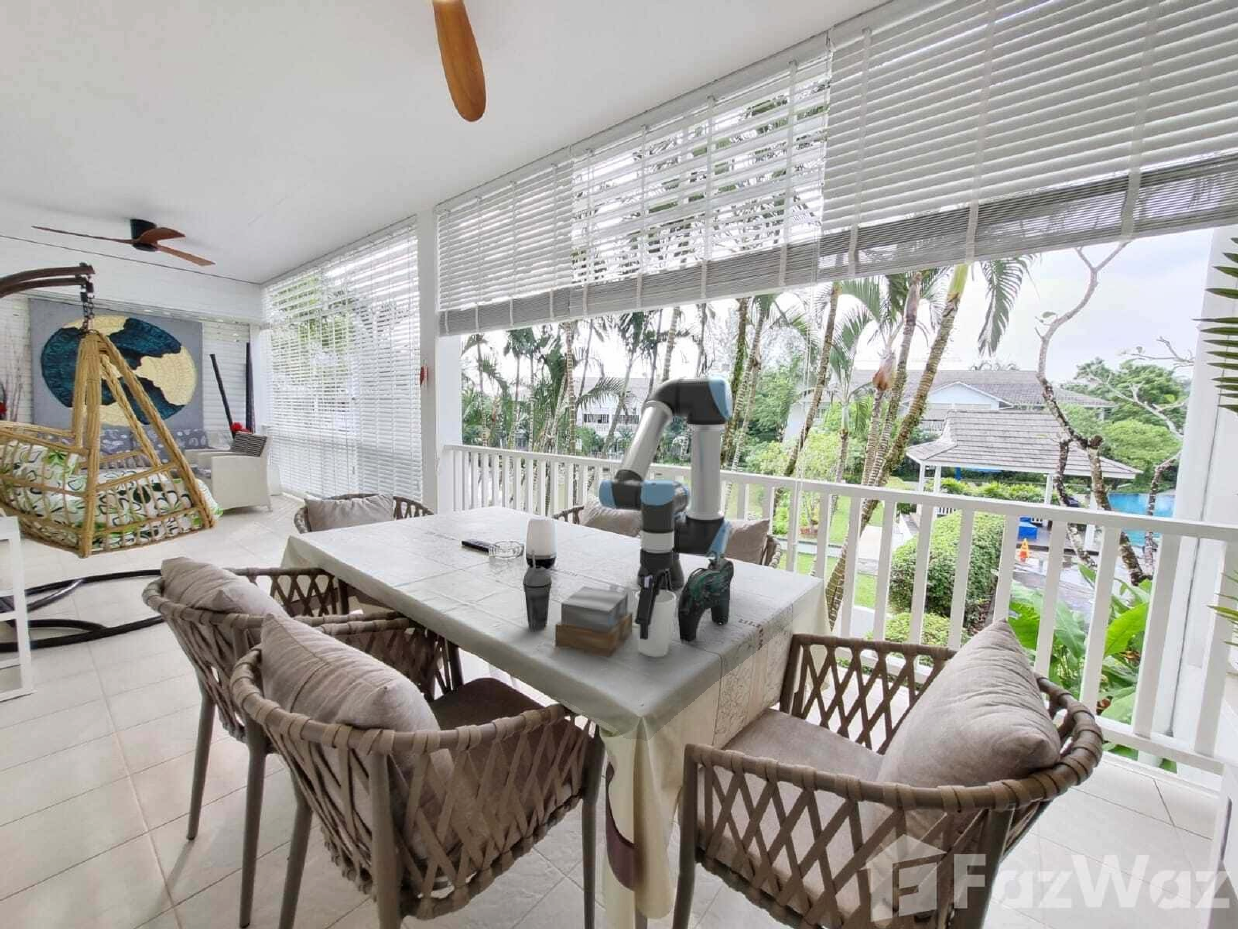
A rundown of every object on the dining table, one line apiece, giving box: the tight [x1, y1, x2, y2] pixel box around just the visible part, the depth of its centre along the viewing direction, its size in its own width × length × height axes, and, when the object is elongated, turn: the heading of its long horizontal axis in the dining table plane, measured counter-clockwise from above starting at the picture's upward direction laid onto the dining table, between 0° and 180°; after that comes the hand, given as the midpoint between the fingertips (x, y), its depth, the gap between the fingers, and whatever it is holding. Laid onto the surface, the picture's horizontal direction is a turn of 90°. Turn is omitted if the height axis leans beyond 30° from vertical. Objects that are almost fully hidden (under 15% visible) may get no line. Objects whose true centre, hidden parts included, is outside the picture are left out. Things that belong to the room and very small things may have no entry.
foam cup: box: [634, 589, 678, 658], centre depth 114 cm, size 10×9×13 cm
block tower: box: [554, 586, 633, 658], centre depth 120 cm, size 14×14×10 cm
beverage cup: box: [522, 549, 553, 631], centre depth 125 cm, size 7×7×20 cm
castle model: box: [609, 583, 638, 627], centre depth 135 cm, size 15×15×7 cm
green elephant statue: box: [677, 550, 735, 643], centre depth 125 cm, size 20×6×20 cm, turn 136°
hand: (654, 638), depth 114 cm, fingers open, 13 cm apart
